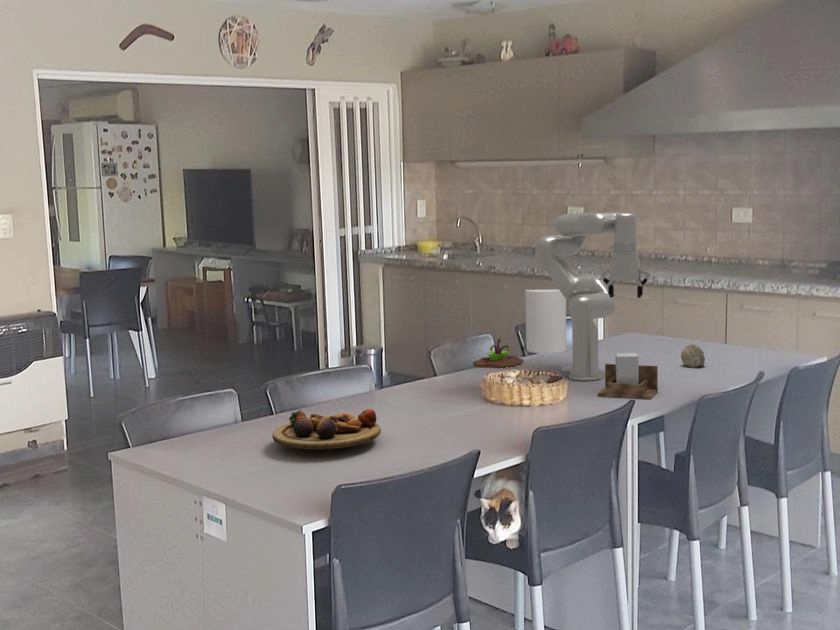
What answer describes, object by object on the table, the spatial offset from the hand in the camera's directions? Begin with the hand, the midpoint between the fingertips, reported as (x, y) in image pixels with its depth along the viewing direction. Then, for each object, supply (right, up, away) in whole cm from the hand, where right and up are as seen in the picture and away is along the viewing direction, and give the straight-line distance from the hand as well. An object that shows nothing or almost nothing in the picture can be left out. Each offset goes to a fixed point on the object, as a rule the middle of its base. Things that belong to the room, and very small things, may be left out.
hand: (625, 297), depth 345 cm
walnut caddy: (-1, -33, -7) cm, 34 cm away
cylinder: (-17, -23, +83) cm, 88 cm away
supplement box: (-1, -32, -7) cm, 33 cm away
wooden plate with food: (-100, -43, -53) cm, 121 cm away
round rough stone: (+34, -27, +36) cm, 57 cm away
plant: (-40, -27, +57) cm, 75 cm away
